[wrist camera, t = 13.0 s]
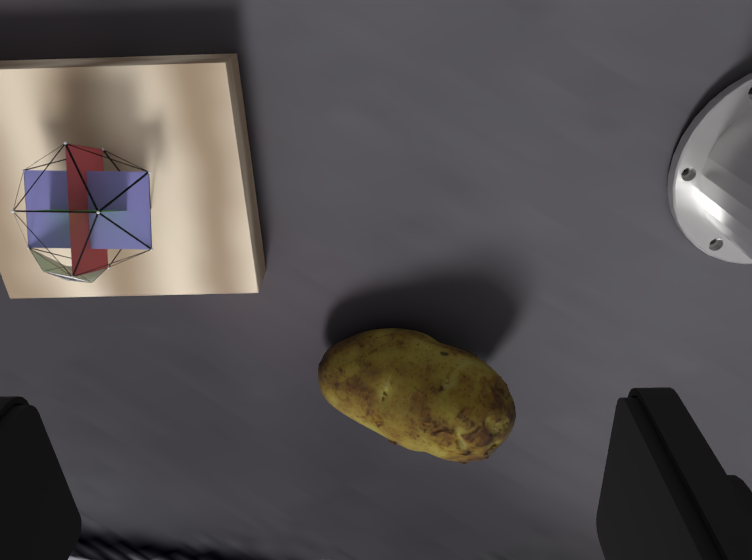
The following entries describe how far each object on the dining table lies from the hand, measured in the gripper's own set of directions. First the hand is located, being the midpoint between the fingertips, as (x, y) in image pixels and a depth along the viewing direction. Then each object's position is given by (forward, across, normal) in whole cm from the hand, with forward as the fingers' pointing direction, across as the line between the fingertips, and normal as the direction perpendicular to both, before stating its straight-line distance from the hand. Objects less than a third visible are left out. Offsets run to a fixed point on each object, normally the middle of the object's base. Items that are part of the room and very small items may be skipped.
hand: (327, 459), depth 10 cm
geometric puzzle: (+26, +16, +4) cm, 31 cm away
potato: (+30, -2, +19) cm, 36 cm away
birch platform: (+29, +16, +4) cm, 33 cm away
